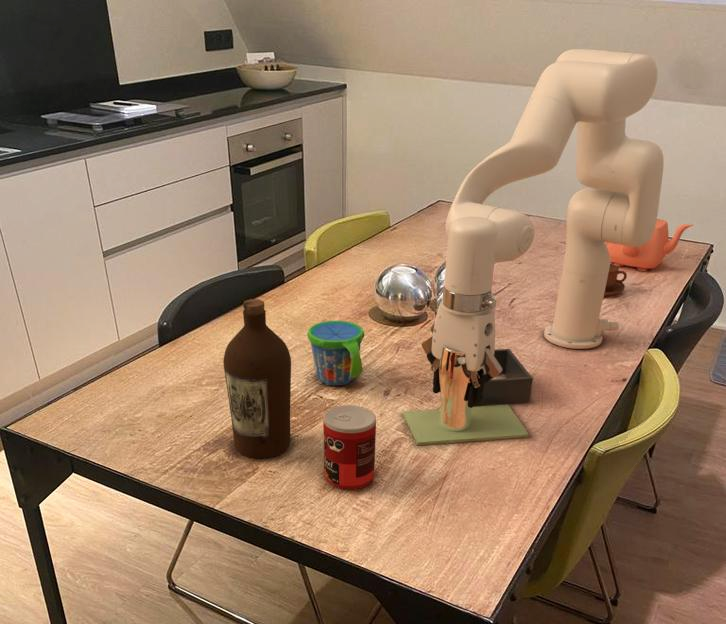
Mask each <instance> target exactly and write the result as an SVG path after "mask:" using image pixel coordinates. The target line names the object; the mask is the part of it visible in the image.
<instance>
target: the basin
mask: <svg viewBox="0 0 726 624" xmlns="http://www.w3.org/2000/svg"><path fill="white" fill-rule="evenodd" d="M494 357H495V358H496V360H497V361H498V363H499V364H500V366H501V367H502V372H501V373H500V374H504V375H505V376H506V378H493V379H491V380H490V381H488V382H486V383H485V384H484V390H483V398H482V401H481V402H480V403H479V404H477V405H475V406H474V407H480V406H495V405H510V404H525V403H530V401H531V396H532V395H531V393H532V389H533V388H532V387H533V381H534V378H533V376H532V375H531V374H530V373H529V371H528V370H527V368H525V366H524V365H523V364H522V362H521V361H520V360H519V359H518V358H517V356H516V355H515V354H514V353H513V352H512V350H511V349H510V348H502V349H501V348H498V349H494ZM484 367H485V370H486V373H488V372H489V370H490V369H489V367H488V365H484Z"/></svg>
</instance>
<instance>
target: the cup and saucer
mask: <svg viewBox="0 0 726 624" xmlns="http://www.w3.org/2000/svg"><path fill="white" fill-rule="evenodd" d="M619 274H620V275H621V274H622V275H623V278H622V279H618V275H619ZM627 275H628V274H627V272H626V271H624V270H620V268H619V266H615V265H614V263H610V268H609V273H608V278H607V282H606V287H605V292H604V296H613V295H617V294H619V293H621V292H622V291H624V290H625V287H626V285H625V283H623V282H625V281H626V280H627Z"/></svg>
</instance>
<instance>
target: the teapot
mask: <svg viewBox="0 0 726 624" xmlns="http://www.w3.org/2000/svg"><path fill="white" fill-rule="evenodd" d="M668 224H669V223H668V221H667V220H664V219H660V218H657V221H656V225H655V229H654V232H653V234H652V236H651V238H650V240H649V241H648V242H647V243H646V244H644V245H642V246H639V247H631V246H624V245H619V244H615V243H610V242H605V243H606V246H607V248H608V251H609V255H610V262H612V263H613V265H615V266H617V267H624V266H630V267H634V268H635V267H636V269H637V270H638V271H641V272H646V271H648V269H655V268H656V267H658V266H659V265H660V264H661V263H662V261H663V260H664V258H665V257H666V255H669V254H671V253H672V252H673V251H674V250H675V249H676V248H677V246H678V243H679V241H680V240H681V236H682V235H683V233H684V232H685V231H686V230H687V229H688V228H690V227H693V226H694V224H692V223H691V224H690V223H688V224H687V223H686V224H680V226H678V227H677V228H676V230H675V232H674V234H673V236H672V237H671V239H670V240H669V225H668Z"/></svg>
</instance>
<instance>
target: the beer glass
mask: <svg viewBox="0 0 726 624" xmlns="http://www.w3.org/2000/svg"><path fill="white" fill-rule="evenodd" d="M477 373H478V377H479V371H477ZM479 378H480V377H479ZM439 385H440V392H439V393H440V408H439V409H440V412H439V415H438V419H437V423H438V425H439V426H440V427H441V428H443V429H445V430H449V431H464V430H466V429H468V428H470V426H471V424H472V420H471V408H470V407H468V395H469V387H470V386H471V385H473V383H472V380H471V371H469V370H467V365H466V358H465V353H464V352H456V351H452V350H449V349H447V348H446V347H445V346H444V345H442V350H441V355H440V362H439Z"/></svg>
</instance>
